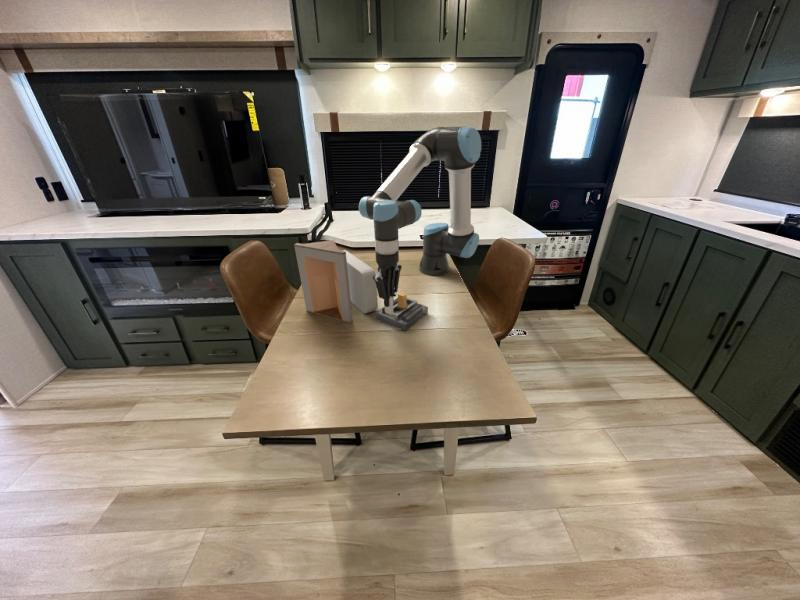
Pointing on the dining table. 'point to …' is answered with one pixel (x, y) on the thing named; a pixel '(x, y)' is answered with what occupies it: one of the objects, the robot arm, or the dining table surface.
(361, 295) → the rounded white slab
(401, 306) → the breaker lever
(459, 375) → the dining table surface
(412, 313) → the grey slider track plate
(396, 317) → the frame
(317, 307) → the cabinet
